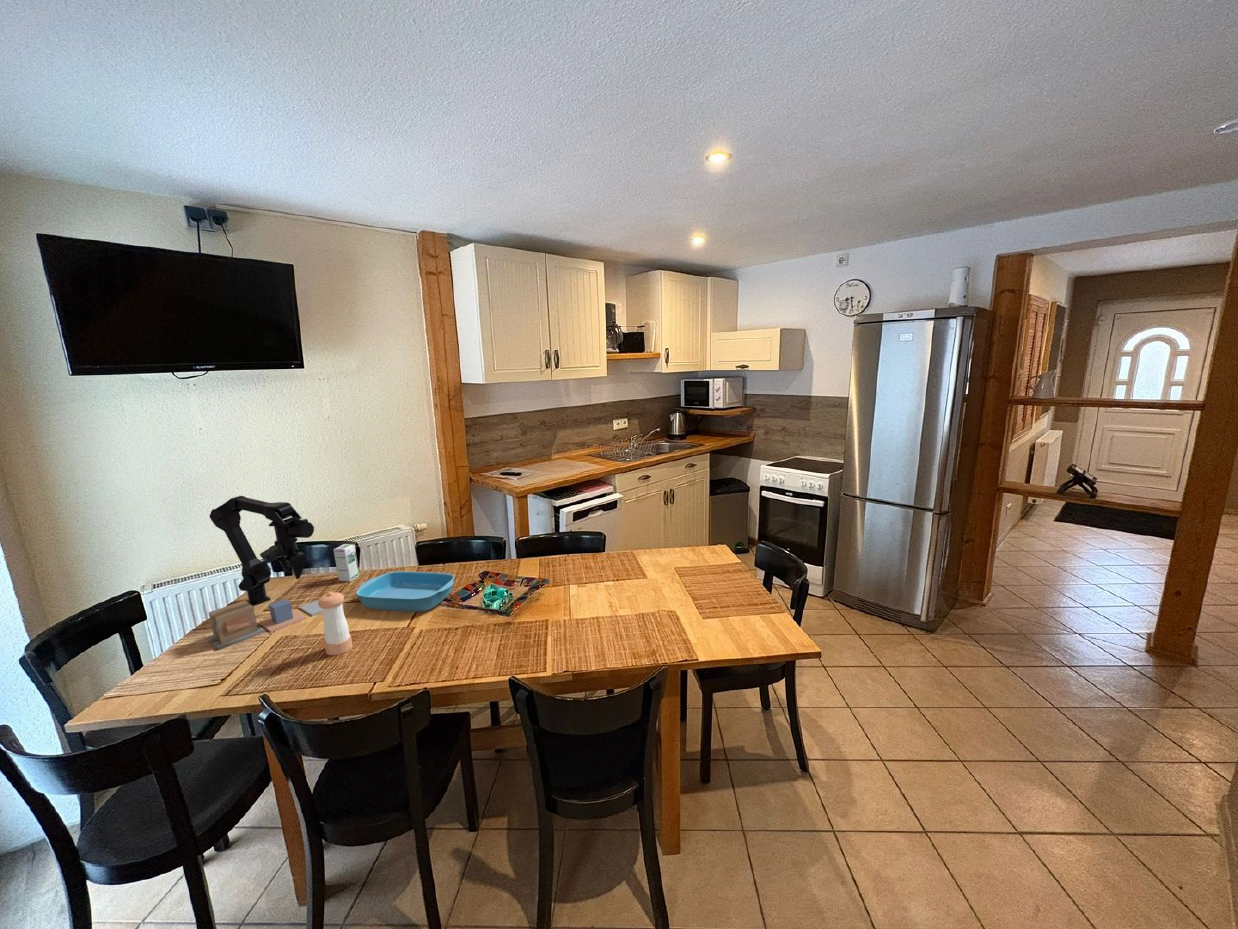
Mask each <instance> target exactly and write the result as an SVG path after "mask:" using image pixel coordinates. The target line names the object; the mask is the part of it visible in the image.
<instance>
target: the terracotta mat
mask: <svg viewBox="0 0 1238 929" xmlns="http://www.w3.org/2000/svg"><path fill="white" fill-rule="evenodd" d="M291 609H292V608H291ZM292 614H293V619H290V620H287V621H285V622H282V623H280V624H276V623H275V622H273V621H272V619H271V617H268V618H265V619H262V620H260V621H258V625H259V626H260V625H261V626H262V628H263V629H265V630H267V631H268V632H270V633H274V632H276V631H278V630H280V629H283V628H286V627H288V626H291V625H293V624H296V623H299V622H301V621H303V620H304V621H305V620H306V619H307V616H305V615H303V614H302V613H300V612H299V611H297V610H296V609H292Z"/></svg>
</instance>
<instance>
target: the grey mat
mask: <svg viewBox="0 0 1238 929" xmlns="http://www.w3.org/2000/svg"><path fill="white" fill-rule="evenodd" d="M318 601H319V599H316V600H314V601H311V602H309V603H305V604H304V605H300V606H299V609H300V610H302V611H303V612H305V613H306V614H308V615H310V616H312V617H313V616H316V615H319V614H323V611H322V608H320V607H319V605H318ZM342 605H344V601H343V603H342Z"/></svg>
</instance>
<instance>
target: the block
mask: <svg viewBox="0 0 1238 929" xmlns="http://www.w3.org/2000/svg"><path fill="white" fill-rule="evenodd" d="M291 605H292V604H291V602H290V601H288V600H287V599H281V600H279V601H275V602H273V603H270V604H268V608H269V614H270V618H271V619H272V621H273V622H275V623H276V624H280V623H282V622H285V621H287V620H290V619H293V614H292V606H291Z"/></svg>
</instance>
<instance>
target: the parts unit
mask: <svg viewBox="0 0 1238 929" xmlns="http://www.w3.org/2000/svg"><path fill="white" fill-rule="evenodd" d="M208 616H209V620H210V621H209V622H210V624H211V628H212V633H213V635H211V636H209V637H207V641H208V642H209V643H210V644H211V645H212V646H213V647H214V648H215V649H216V650H218V651H220V650H222V649H226V648H228V647H230V646H233V645H235V644H238V643H241V642H243V641H247V640H249V639H251V638H253V637H256V636H259V635H261V634H264V633H265V632H266V629H265V628H264V627H263V626H262V627H261V626H260V624H259V623H257V620H256V614H255V610H254V605H253V606H252V605H251V604H249V603H248V602H246V600H245V599H243V600H241V601H239V602H236V603H233V604H230V605H226V606H224V607H221V608H217V609H215V610H212V611H209V612H208Z"/></svg>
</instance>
